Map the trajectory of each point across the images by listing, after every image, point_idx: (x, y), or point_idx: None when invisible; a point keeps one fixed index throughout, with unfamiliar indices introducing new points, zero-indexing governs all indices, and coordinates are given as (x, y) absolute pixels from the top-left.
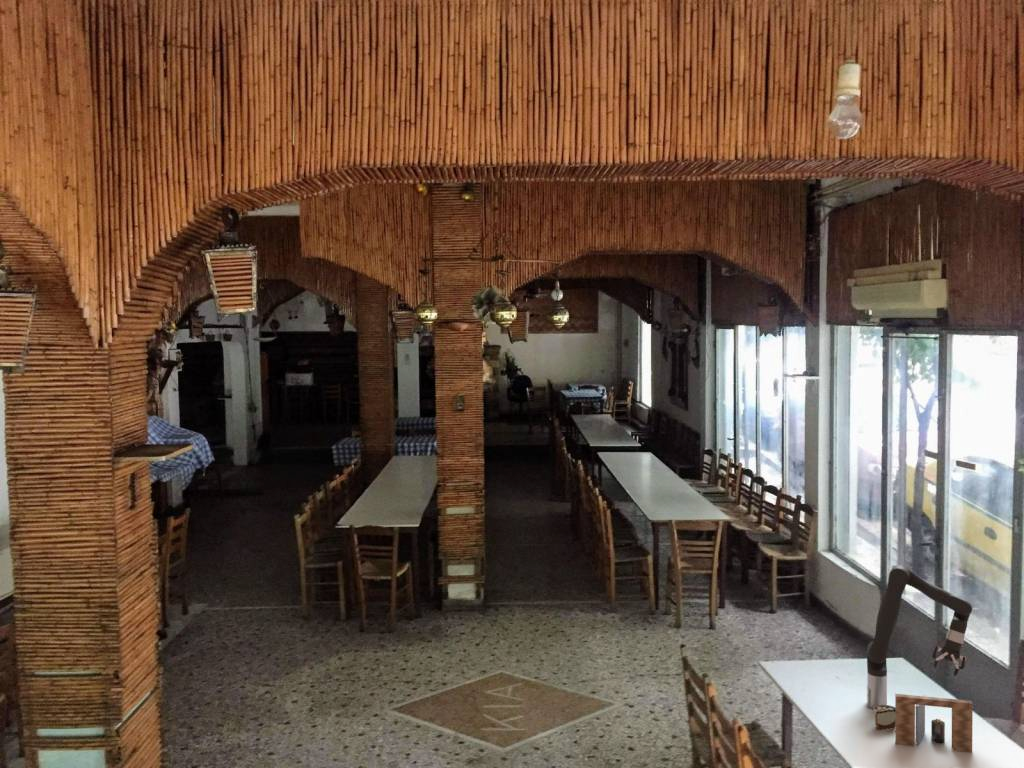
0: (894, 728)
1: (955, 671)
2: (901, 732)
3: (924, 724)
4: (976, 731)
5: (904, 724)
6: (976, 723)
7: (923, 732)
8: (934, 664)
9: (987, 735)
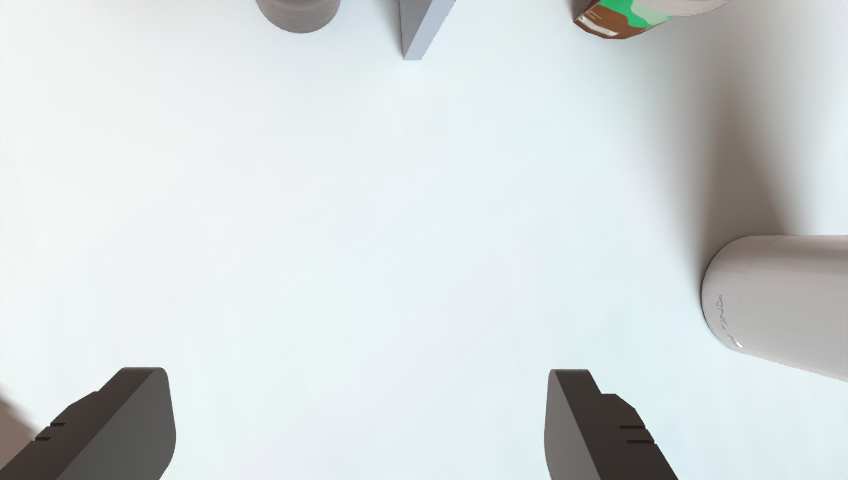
0: (576, 18)
1: (80, 427)
2: None
3: (412, 22)
4: (107, 315)
5: None
6: None
7: (402, 7)
8: (636, 424)
9: (17, 297)
